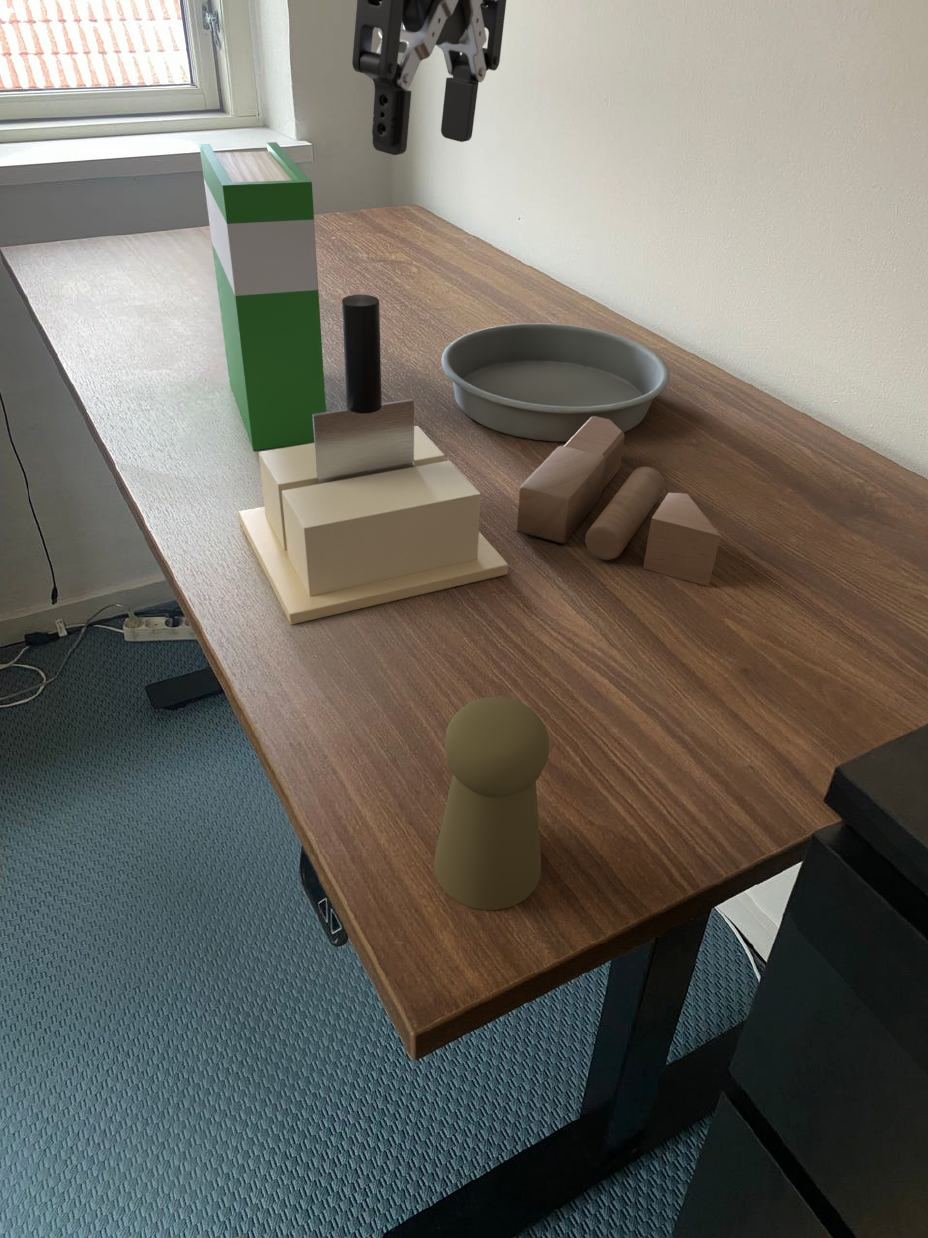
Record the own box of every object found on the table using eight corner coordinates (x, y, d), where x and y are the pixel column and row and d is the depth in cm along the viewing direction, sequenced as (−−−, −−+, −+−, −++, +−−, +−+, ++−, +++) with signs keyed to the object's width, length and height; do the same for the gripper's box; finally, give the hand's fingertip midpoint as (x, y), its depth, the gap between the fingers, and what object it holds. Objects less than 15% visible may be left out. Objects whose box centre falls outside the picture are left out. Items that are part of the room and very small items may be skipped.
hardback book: (229, 381, 104) (199, 144, 89) (295, 374, 106) (276, 142, 91) (253, 450, 90) (222, 185, 76) (327, 441, 92) (311, 181, 78)
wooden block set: (514, 479, 76) (590, 401, 89) (510, 538, 79) (583, 455, 92) (719, 532, 70) (767, 440, 83) (705, 593, 73) (754, 496, 86)
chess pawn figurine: (420, 896, 50) (421, 750, 43) (448, 813, 54) (453, 669, 48) (531, 921, 49) (549, 776, 42) (550, 834, 53) (569, 691, 47)
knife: (322, 494, 71) (311, 312, 63) (313, 478, 73) (300, 300, 64) (419, 476, 74) (420, 299, 65) (407, 462, 76) (406, 288, 67)
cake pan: (606, 473, 89) (612, 430, 86) (396, 410, 99) (396, 370, 96) (696, 390, 106) (703, 352, 103) (509, 343, 116) (511, 307, 113)
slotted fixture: (290, 625, 68) (282, 544, 64) (238, 521, 80) (229, 447, 76) (508, 574, 75) (513, 498, 70) (430, 484, 86) (431, 414, 82)
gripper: (460, -153, 60) (432, 125, 70) (325, -189, 50) (315, 143, 59) (563, -139, 57) (519, 147, 67) (444, -173, 47) (413, 170, 57)
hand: (423, 145), depth 63 cm, fingers open, 8 cm apart
